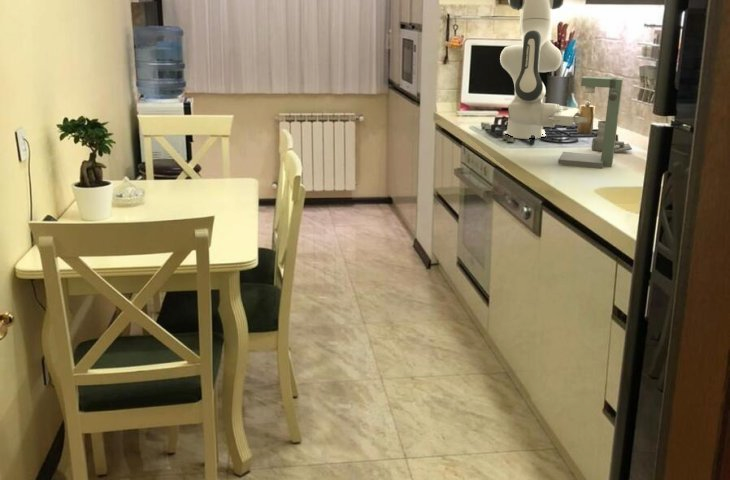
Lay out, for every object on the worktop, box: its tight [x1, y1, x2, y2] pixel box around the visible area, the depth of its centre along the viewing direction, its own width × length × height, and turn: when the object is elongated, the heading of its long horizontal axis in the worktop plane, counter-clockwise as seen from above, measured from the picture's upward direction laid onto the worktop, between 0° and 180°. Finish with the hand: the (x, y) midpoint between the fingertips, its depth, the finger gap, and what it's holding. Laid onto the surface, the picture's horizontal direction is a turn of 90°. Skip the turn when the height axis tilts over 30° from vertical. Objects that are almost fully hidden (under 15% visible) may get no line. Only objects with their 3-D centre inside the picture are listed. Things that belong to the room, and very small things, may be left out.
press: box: [557, 75, 624, 169], centre depth 277 cm, size 20×19×32 cm
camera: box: [590, 120, 633, 153], centre depth 303 cm, size 9×12×15 cm
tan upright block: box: [576, 101, 596, 135], centre depth 279 cm, size 5×5×12 cm
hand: (588, 118), depth 279 cm, fingers closed on tan upright block, 5 cm apart
